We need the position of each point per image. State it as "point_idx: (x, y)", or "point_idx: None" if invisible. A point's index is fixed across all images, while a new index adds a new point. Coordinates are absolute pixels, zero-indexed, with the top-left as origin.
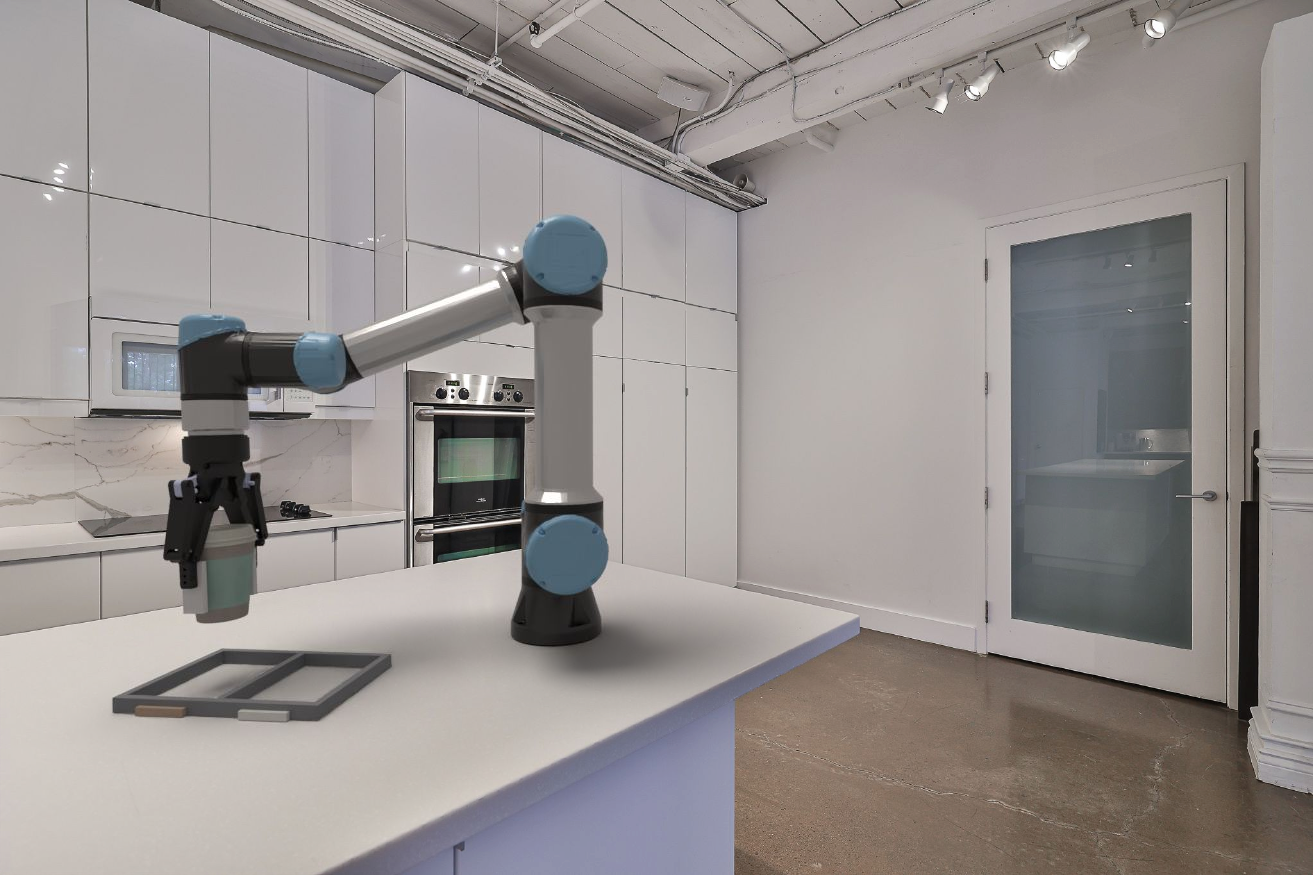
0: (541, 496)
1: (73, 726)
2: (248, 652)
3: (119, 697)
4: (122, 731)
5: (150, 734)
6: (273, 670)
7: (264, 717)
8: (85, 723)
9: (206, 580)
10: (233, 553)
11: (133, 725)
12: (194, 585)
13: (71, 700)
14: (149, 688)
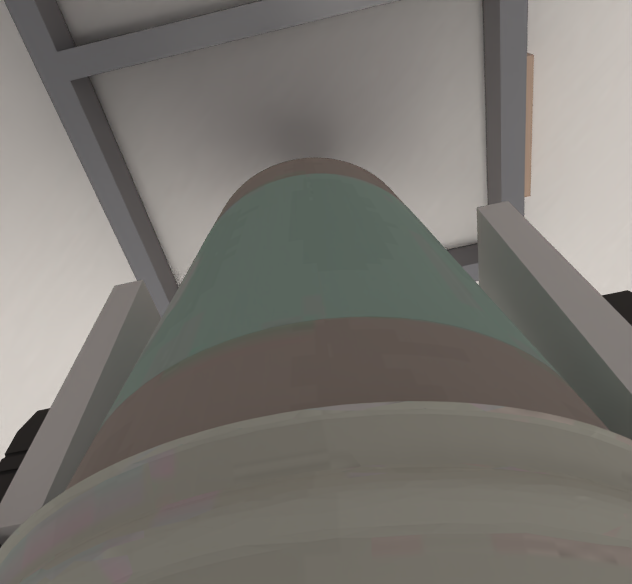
0: None
1: (581, 258)
2: (149, 255)
3: None
4: (608, 126)
5: (627, 32)
6: (238, 9)
7: None
8: (565, 251)
9: (557, 301)
10: (477, 356)
11: (573, 136)
12: (616, 303)
13: None
14: None
